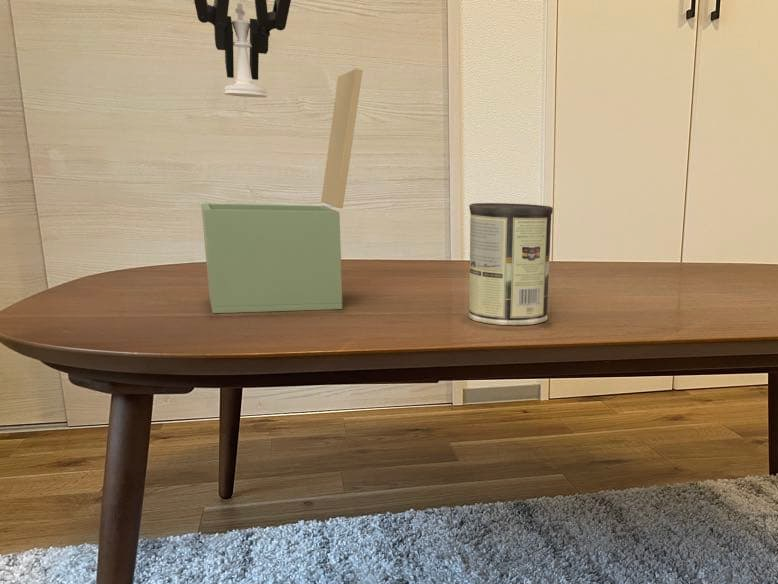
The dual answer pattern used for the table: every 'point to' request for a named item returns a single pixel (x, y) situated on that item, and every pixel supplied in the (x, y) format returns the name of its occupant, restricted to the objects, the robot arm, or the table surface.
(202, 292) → the table surface
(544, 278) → the coffee can
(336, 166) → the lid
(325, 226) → the chest
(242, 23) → the chess piece
